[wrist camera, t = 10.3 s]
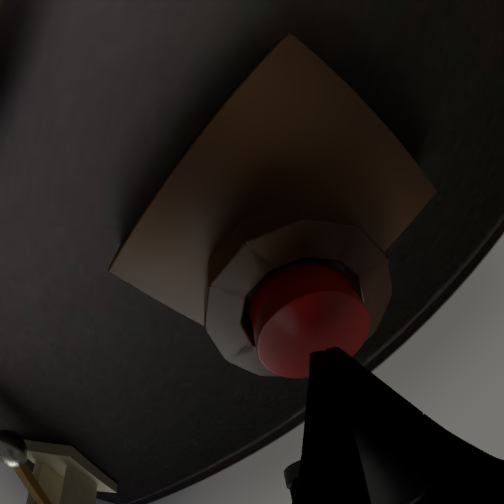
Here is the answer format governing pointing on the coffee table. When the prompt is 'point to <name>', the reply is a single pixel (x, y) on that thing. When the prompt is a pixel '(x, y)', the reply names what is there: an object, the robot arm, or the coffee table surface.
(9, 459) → the lever
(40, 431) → the coffee table surface
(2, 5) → the seashell
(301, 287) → the button
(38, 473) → the bracket
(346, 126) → the button box
